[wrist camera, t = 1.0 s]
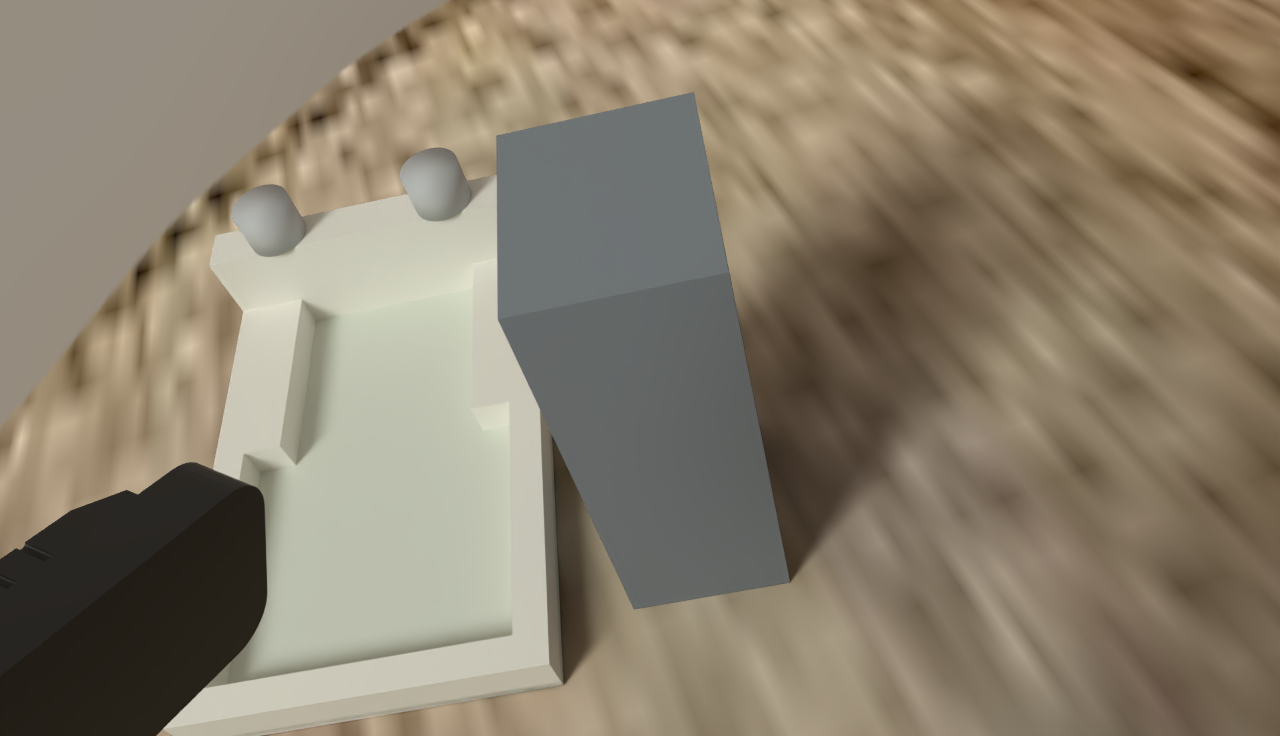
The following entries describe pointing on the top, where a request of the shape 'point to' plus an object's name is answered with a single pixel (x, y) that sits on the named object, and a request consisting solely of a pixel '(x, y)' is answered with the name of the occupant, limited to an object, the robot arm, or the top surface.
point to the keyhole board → (383, 462)
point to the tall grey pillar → (638, 346)
